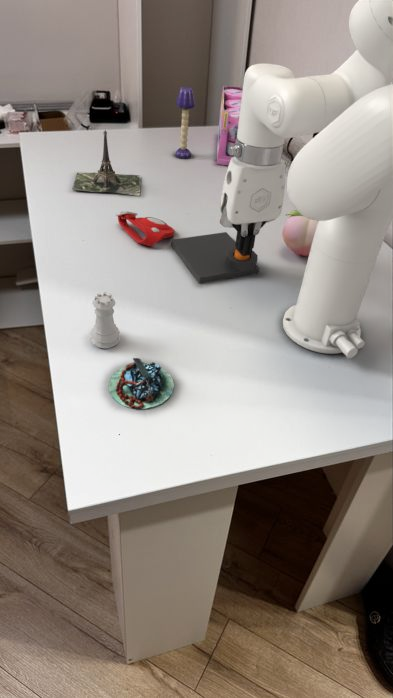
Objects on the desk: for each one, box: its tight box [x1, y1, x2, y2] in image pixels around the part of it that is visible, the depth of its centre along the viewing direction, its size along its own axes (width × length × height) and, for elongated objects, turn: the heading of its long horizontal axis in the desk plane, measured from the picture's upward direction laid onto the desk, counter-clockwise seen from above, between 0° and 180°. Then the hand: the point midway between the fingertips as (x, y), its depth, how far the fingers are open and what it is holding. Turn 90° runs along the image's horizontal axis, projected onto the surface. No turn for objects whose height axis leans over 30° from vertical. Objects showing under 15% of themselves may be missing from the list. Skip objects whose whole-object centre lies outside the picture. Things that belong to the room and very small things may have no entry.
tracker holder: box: [115, 210, 175, 247], centre depth 105 cm, size 12×4×10 cm
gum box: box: [216, 85, 243, 166], centre depth 141 cm, size 24×8×14 cm, turn 178°
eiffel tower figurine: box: [72, 129, 141, 197], centre depth 119 cm, size 15×10×13 cm
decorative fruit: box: [281, 209, 319, 257], centre depth 102 cm, size 9×8×10 cm
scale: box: [170, 231, 260, 285], centre depth 100 cm, size 14×12×3 cm
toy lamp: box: [174, 86, 196, 160], centre depth 135 cm, size 5×5×17 cm
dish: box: [108, 357, 175, 410], centre depth 74 cm, size 8×7×8 cm
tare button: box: [234, 249, 250, 260], centre depth 98 cm, size 3×3×2 cm
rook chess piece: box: [90, 291, 121, 349], centre depth 78 cm, size 4×4×8 cm
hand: (243, 251), depth 97 cm, fingers closed
